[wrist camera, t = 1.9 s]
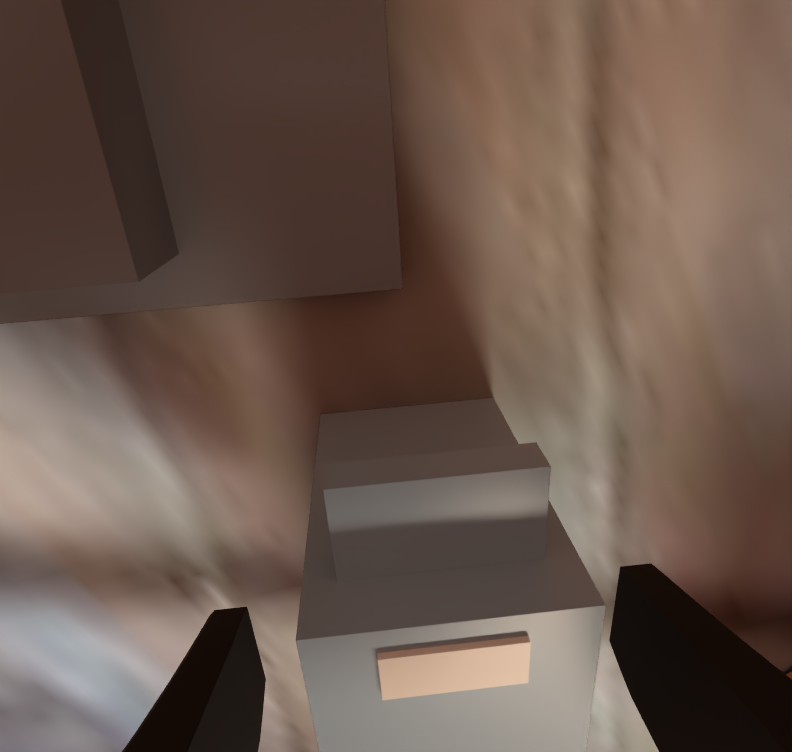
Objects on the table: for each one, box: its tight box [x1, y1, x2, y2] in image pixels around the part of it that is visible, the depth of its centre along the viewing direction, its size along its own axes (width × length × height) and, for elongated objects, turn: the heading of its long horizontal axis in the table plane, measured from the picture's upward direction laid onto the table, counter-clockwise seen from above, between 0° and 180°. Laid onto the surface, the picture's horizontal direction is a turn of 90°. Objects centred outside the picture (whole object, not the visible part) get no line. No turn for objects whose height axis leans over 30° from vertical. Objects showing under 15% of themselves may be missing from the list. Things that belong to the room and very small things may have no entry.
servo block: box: [296, 398, 606, 752], centre depth 11 cm, size 4×9×6 cm, turn 4°
